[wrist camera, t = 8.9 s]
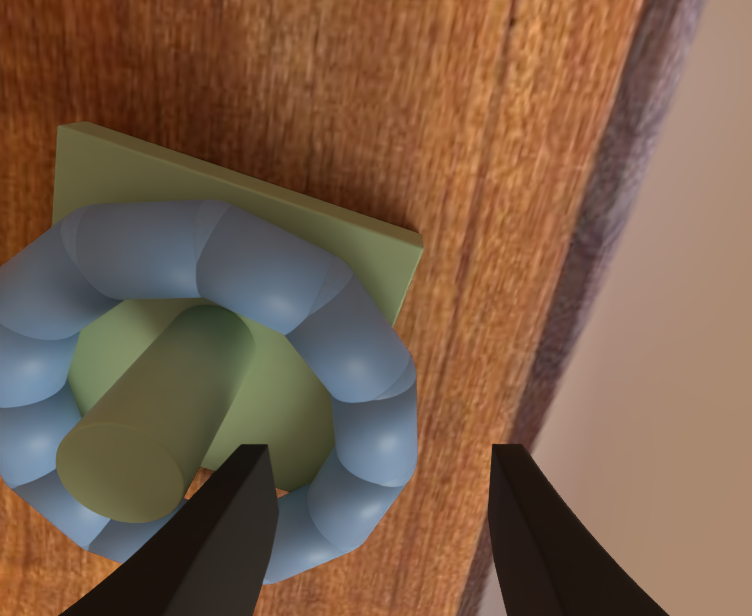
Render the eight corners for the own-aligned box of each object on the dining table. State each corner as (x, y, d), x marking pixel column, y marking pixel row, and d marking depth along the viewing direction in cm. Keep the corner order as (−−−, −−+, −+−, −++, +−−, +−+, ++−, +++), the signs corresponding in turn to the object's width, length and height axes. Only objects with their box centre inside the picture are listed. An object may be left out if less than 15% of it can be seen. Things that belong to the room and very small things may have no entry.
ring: (412, 182, 12) (414, 204, 10) (418, 539, 17) (420, 602, 15) (-60, 201, 12) (-148, 225, 10) (79, 538, 17) (37, 598, 15)
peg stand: (422, 233, 13) (439, 347, 8) (329, 475, 17) (295, 671, 11) (85, 119, 13) (-170, 154, 7) (63, 399, 16) (-115, 571, 11)
